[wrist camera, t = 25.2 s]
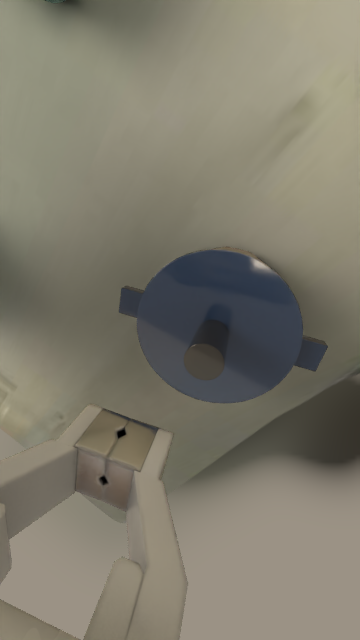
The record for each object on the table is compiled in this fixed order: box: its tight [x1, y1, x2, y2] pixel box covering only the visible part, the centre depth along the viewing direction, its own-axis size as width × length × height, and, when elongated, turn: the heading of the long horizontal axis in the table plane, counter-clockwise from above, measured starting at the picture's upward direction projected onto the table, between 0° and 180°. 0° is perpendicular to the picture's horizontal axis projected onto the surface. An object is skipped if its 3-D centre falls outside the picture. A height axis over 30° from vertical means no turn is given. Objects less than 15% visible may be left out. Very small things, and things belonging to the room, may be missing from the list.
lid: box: [137, 249, 303, 403], centre depth 18 cm, size 13×13×6 cm
